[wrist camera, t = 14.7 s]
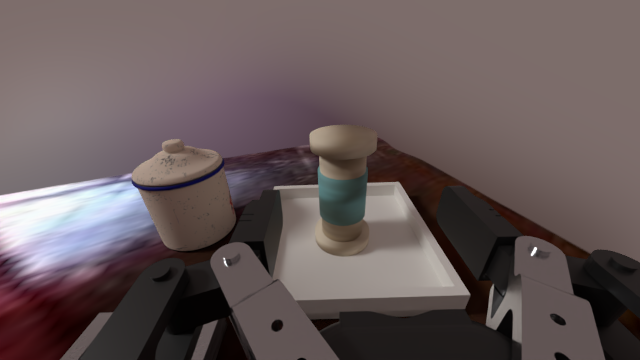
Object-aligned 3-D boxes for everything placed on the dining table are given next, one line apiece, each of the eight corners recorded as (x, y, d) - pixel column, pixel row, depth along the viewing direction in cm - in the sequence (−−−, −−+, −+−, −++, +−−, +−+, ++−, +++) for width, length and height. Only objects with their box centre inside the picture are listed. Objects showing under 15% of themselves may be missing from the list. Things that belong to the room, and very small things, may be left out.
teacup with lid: (253, 219, 32) (235, 134, 26) (190, 266, 25) (148, 165, 19) (197, 196, 37) (173, 123, 32) (134, 230, 30) (89, 144, 25)
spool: (315, 257, 24) (308, 146, 18) (315, 220, 29) (310, 126, 24) (373, 255, 24) (385, 144, 18) (363, 219, 29) (369, 123, 24)
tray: (243, 321, 19) (236, 302, 18) (276, 200, 35) (274, 186, 34) (462, 314, 19) (470, 294, 18) (396, 196, 35) (398, 182, 34)
